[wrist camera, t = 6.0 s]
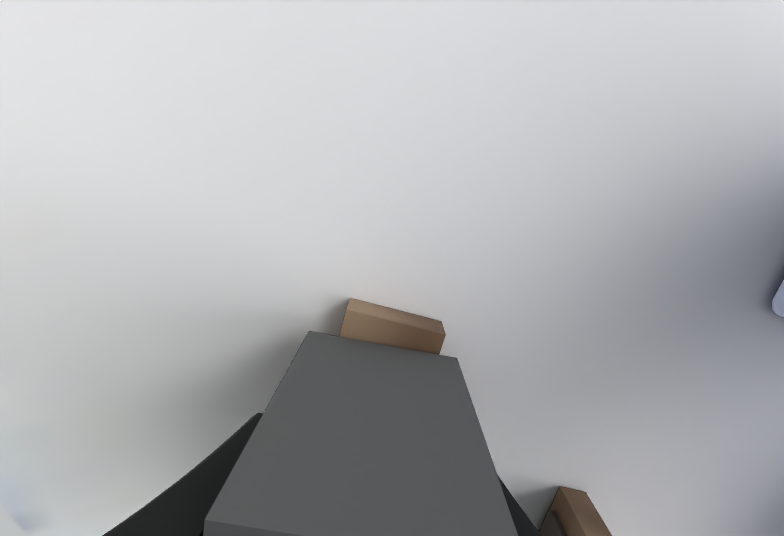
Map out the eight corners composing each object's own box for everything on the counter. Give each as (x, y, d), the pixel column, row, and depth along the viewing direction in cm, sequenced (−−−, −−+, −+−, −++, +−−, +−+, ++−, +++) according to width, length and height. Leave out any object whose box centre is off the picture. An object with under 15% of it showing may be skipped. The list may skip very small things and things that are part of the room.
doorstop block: (425, 479, 12) (454, 773, 6) (290, 456, 12) (185, 736, 6) (456, 357, 11) (530, 571, 5) (308, 331, 11) (203, 520, 5)
